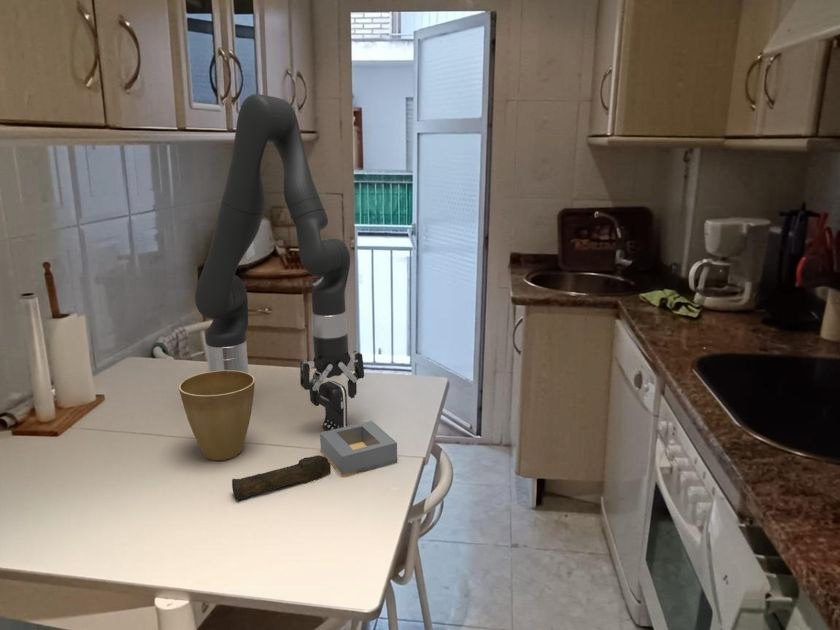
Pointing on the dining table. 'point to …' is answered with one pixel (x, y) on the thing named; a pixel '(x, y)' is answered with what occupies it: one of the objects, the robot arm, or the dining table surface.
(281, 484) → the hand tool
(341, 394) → the battery charger
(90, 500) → the dining table surface
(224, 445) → the plant pot
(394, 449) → the dock
